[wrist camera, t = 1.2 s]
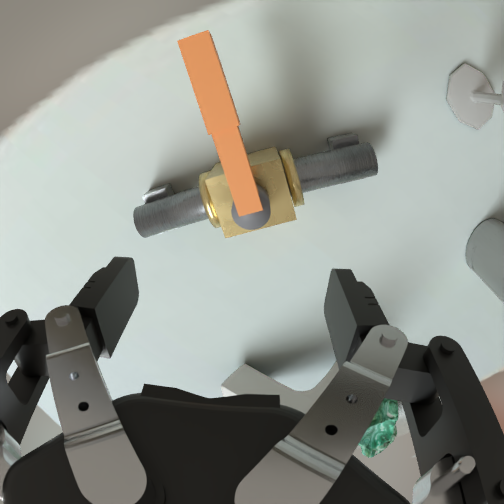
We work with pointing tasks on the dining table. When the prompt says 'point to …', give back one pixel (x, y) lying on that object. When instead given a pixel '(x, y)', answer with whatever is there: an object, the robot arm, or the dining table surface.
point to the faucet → (274, 387)
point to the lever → (224, 129)
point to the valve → (266, 175)
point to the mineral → (380, 429)
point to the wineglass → (472, 96)
